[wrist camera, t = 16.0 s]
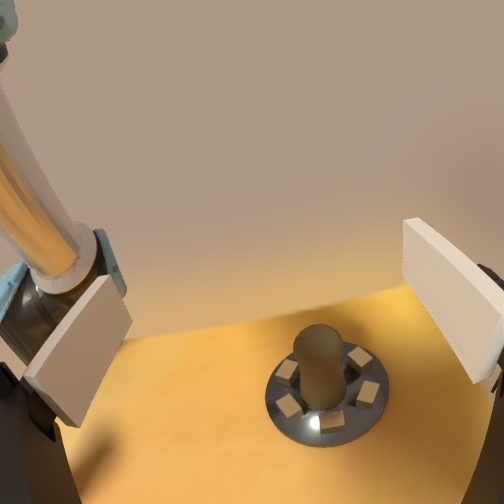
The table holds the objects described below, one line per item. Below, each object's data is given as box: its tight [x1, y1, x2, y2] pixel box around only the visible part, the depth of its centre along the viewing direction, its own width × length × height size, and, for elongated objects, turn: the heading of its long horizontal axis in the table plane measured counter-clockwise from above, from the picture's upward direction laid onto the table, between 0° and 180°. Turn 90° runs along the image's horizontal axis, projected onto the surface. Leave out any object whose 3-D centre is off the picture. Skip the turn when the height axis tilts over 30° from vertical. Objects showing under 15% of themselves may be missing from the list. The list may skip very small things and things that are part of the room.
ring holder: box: [265, 342, 389, 447], centre depth 33 cm, size 16×16×3 cm
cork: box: [293, 324, 347, 411], centre depth 31 cm, size 6×6×11 cm
